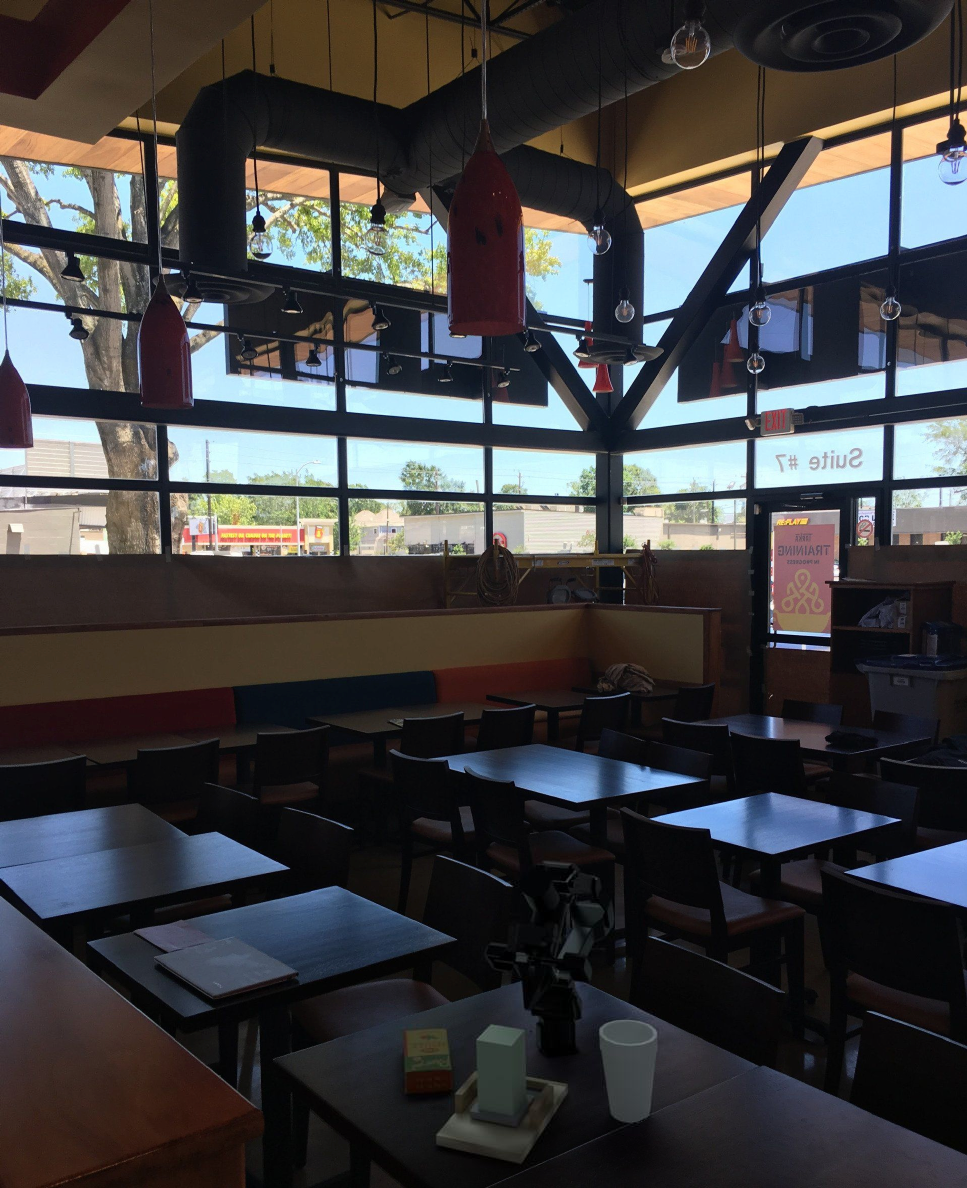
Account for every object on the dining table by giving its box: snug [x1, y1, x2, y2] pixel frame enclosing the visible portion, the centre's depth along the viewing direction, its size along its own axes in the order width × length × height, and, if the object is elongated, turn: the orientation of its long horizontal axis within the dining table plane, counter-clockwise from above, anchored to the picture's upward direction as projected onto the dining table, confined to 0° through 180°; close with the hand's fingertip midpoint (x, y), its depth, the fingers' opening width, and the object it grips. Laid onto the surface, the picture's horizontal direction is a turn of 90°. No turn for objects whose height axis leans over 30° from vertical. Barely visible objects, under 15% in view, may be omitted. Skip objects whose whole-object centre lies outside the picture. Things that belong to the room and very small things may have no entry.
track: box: [435, 1070, 569, 1165], centre depth 156 cm, size 22×14×4 cm, turn 157°
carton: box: [402, 1028, 454, 1095], centre depth 173 cm, size 8×16×4 cm, turn 6°
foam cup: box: [598, 1019, 659, 1124], centre depth 157 cm, size 10×9×13 cm
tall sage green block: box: [470, 1023, 535, 1127], centre depth 155 cm, size 8×8×12 cm
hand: (526, 1009), depth 166 cm, fingers closed
